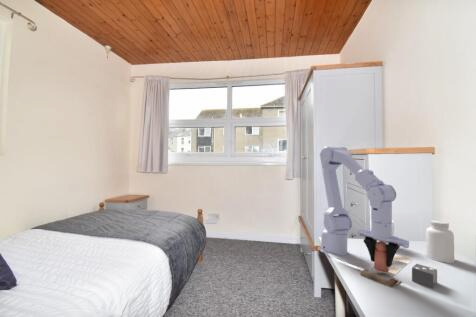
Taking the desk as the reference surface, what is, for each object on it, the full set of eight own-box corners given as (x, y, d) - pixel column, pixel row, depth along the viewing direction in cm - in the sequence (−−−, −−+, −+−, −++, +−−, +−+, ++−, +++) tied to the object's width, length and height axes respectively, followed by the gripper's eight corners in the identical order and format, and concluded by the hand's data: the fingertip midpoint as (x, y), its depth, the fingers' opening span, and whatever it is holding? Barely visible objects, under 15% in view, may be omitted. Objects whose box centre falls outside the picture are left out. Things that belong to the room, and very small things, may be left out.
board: (360, 275, 73) (360, 271, 73) (391, 254, 90) (391, 251, 90) (392, 287, 66) (392, 283, 66) (418, 262, 83) (418, 259, 83)
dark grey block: (411, 284, 68) (411, 267, 68) (416, 279, 71) (416, 263, 71) (433, 291, 64) (433, 274, 64) (437, 286, 67) (437, 269, 67)
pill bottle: (425, 254, 90) (425, 218, 91) (453, 260, 85) (452, 221, 86) (426, 261, 84) (426, 222, 85) (455, 267, 79) (455, 226, 80)
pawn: (372, 268, 73) (372, 240, 73) (376, 265, 75) (377, 238, 75) (386, 273, 69) (386, 244, 70) (390, 270, 72) (391, 242, 72)
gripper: (412, 224, 69) (412, 268, 69) (363, 215, 81) (363, 252, 80) (405, 228, 65) (405, 275, 65) (354, 218, 76) (354, 257, 76)
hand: (381, 263), depth 72 cm, fingers closed on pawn, 4 cm apart
